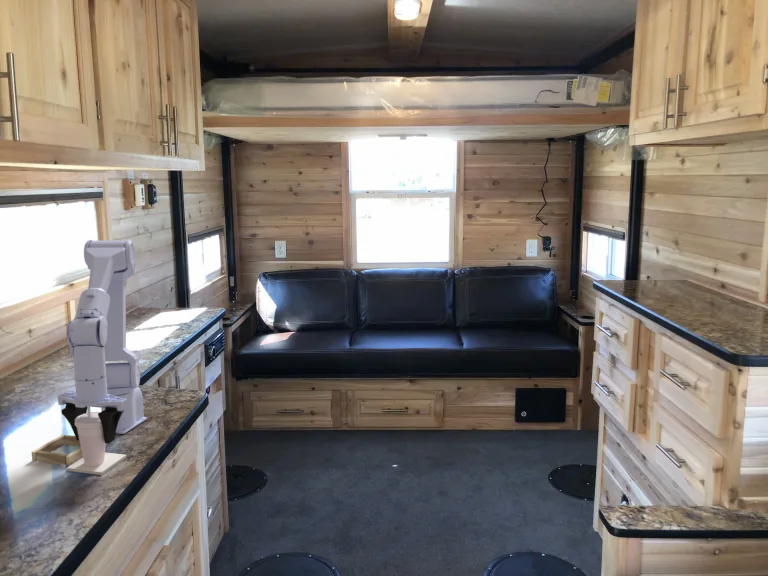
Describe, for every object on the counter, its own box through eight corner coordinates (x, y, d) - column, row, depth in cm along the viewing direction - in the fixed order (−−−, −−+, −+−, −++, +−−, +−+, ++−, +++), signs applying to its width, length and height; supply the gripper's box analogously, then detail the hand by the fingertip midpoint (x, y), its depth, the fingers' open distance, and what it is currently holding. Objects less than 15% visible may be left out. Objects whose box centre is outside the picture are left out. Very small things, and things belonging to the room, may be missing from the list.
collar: (63, 443, 137) (62, 434, 136) (99, 447, 135) (98, 438, 135) (32, 461, 128) (31, 452, 128) (70, 465, 126) (69, 456, 126)
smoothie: (87, 454, 130) (83, 391, 127) (117, 455, 130) (114, 392, 127) (70, 468, 124) (66, 402, 121) (101, 470, 123) (98, 404, 121)
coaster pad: (93, 453, 132) (92, 450, 132) (126, 457, 130) (126, 454, 130) (66, 470, 124) (66, 467, 124) (101, 475, 123) (101, 472, 122)
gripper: (44, 379, 121) (50, 444, 124) (109, 385, 118) (114, 452, 121) (69, 369, 128) (74, 430, 131) (132, 374, 125) (136, 437, 128)
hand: (95, 440), depth 126 cm, fingers closed on smoothie, 6 cm apart
